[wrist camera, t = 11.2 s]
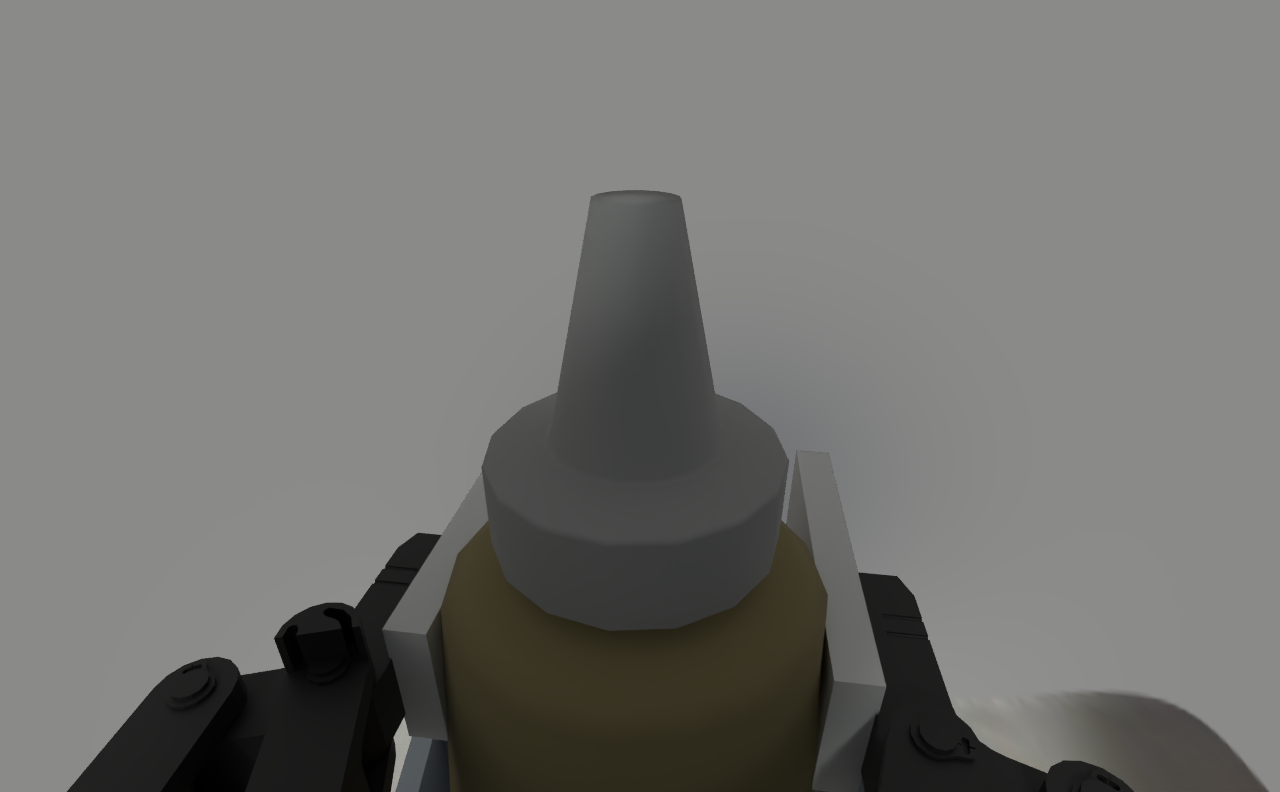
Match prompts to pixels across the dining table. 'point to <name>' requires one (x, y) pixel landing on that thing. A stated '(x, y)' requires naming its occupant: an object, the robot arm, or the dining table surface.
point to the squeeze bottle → (634, 559)
